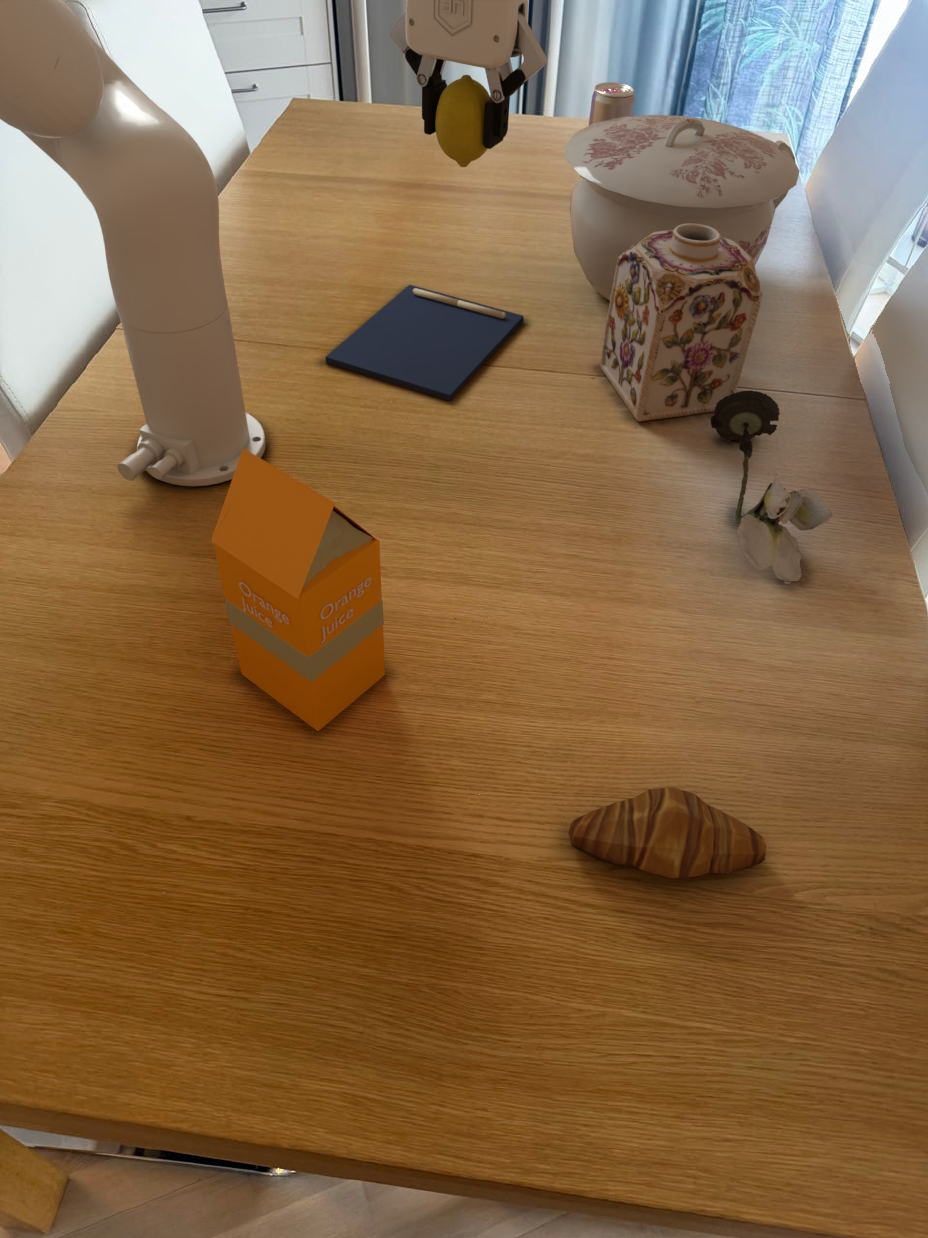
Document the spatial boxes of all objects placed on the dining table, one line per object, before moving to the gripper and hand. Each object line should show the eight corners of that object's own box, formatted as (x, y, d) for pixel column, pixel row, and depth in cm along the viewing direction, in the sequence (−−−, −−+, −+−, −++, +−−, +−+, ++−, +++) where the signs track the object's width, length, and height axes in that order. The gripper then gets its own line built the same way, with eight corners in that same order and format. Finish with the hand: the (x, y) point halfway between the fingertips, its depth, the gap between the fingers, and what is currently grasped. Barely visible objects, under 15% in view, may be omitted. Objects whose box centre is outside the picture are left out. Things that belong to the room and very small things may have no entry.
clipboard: (450, 401, 102) (450, 388, 100) (325, 362, 106) (324, 350, 105) (523, 321, 114) (524, 309, 113) (409, 289, 119) (409, 278, 118)
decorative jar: (634, 425, 100) (667, 263, 87) (595, 367, 107) (620, 211, 94) (735, 411, 102) (781, 252, 89) (689, 356, 110) (726, 202, 97)
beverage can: (572, 192, 142) (585, 83, 131) (606, 187, 143) (621, 79, 133) (592, 207, 138) (607, 97, 127) (626, 202, 140) (644, 92, 129)
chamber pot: (532, 325, 113) (549, 146, 98) (568, 231, 132) (587, 69, 117) (764, 361, 110) (818, 181, 95) (767, 259, 128) (814, 95, 113)
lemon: (494, 158, 91) (499, 67, 86) (488, 180, 88) (493, 87, 82) (439, 153, 92) (440, 63, 86) (430, 175, 88) (431, 81, 82)
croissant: (754, 815, 67) (773, 776, 63) (767, 903, 62) (789, 866, 58) (566, 798, 67) (575, 759, 63) (566, 884, 62) (574, 847, 59)
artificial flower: (776, 450, 99) (832, 382, 91) (780, 615, 86) (845, 551, 78) (701, 422, 98) (750, 350, 90) (692, 584, 85) (750, 517, 77)
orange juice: (309, 621, 78) (284, 422, 64) (387, 674, 75) (379, 475, 60) (238, 675, 74) (194, 474, 59) (316, 734, 70) (290, 535, 56)
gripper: (356, -110, 75) (365, 130, 88) (550, -81, 70) (529, 169, 83) (404, -122, 79) (405, 107, 93) (588, -96, 74) (562, 143, 87)
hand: (464, 134), depth 88 cm, fingers closed on lemon, 5 cm apart
